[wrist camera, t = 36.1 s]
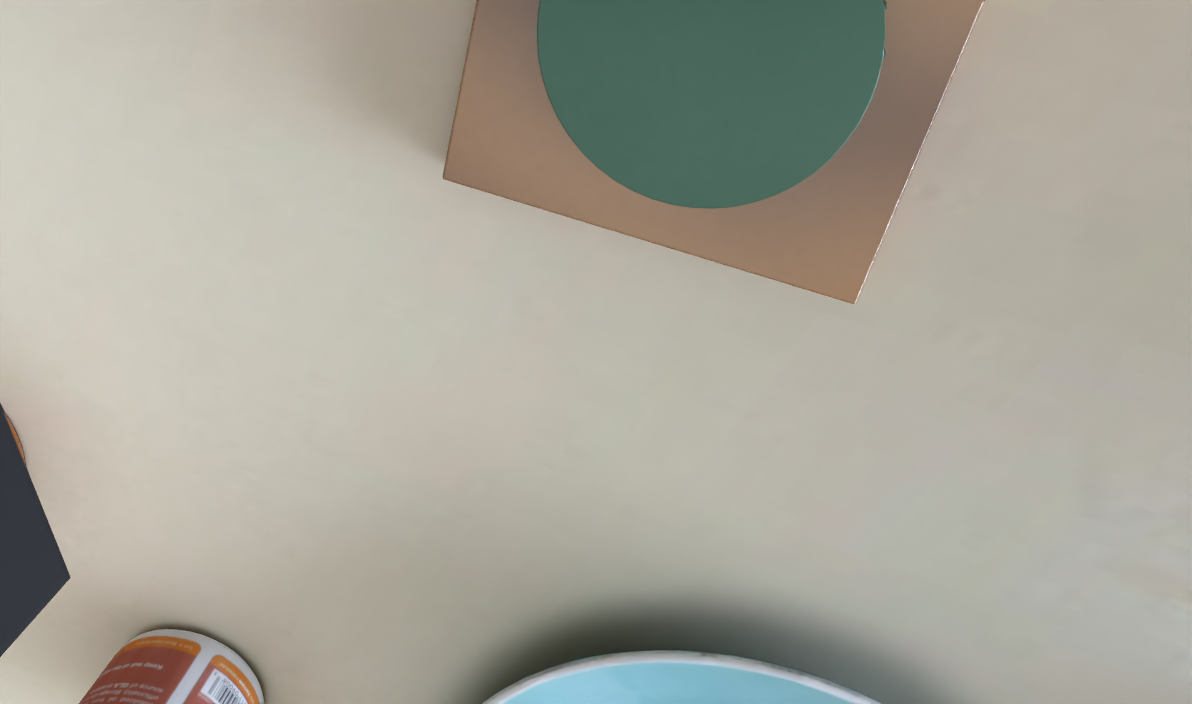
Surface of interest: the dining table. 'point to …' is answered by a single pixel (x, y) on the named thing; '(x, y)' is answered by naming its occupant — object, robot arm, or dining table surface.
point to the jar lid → (710, 89)
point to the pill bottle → (175, 672)
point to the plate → (674, 682)
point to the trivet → (724, 235)
